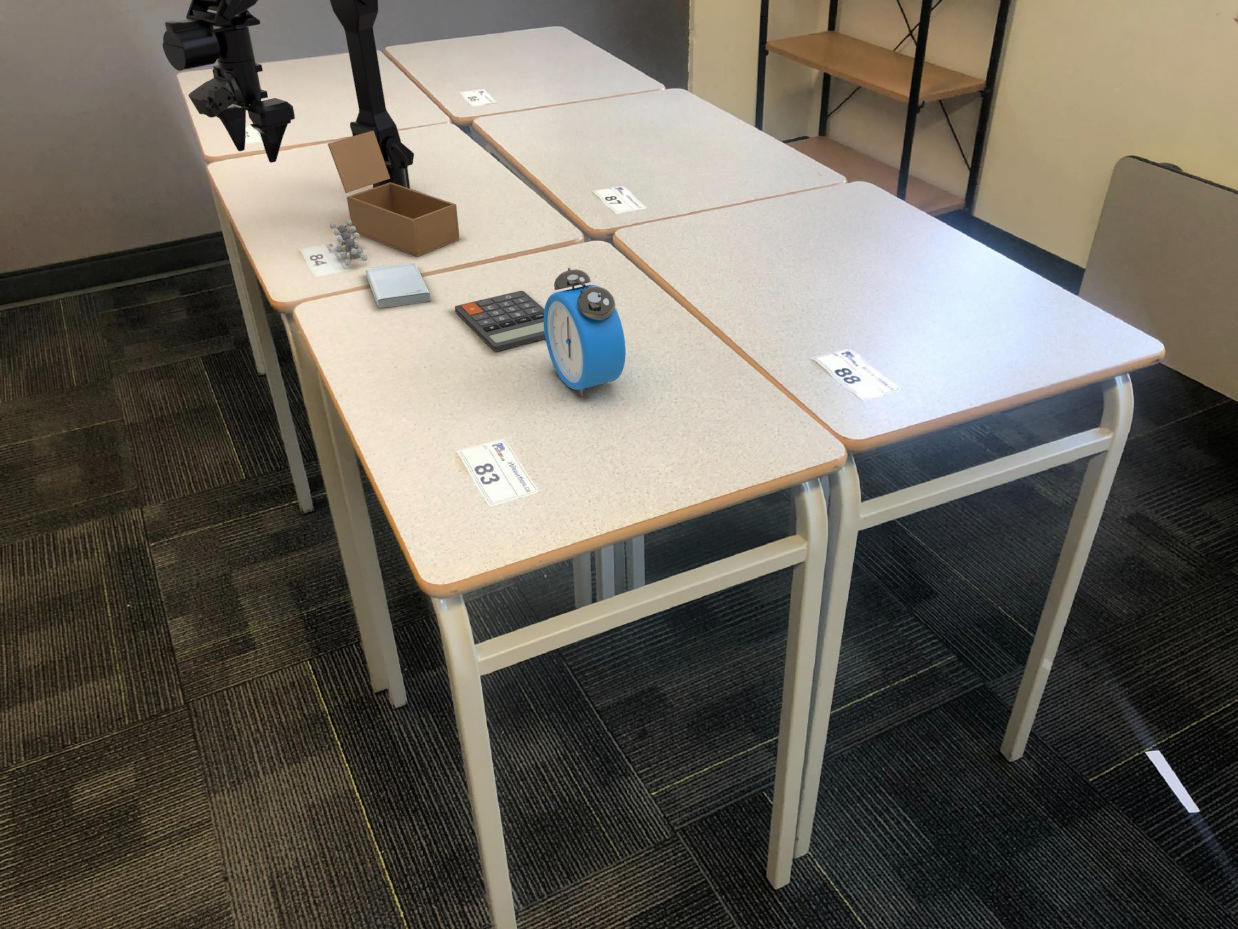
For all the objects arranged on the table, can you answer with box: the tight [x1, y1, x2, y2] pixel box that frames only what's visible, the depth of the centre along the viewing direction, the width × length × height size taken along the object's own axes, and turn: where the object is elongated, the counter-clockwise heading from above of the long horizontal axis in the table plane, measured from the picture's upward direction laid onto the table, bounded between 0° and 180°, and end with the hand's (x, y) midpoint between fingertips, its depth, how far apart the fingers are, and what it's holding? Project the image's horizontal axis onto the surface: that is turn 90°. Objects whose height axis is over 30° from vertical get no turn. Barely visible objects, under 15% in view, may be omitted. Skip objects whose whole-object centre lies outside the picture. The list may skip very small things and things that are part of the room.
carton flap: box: [327, 131, 390, 194], centre depth 169 cm, size 9×10×1 cm
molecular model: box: [329, 219, 368, 267], centre depth 162 cm, size 14×4×5 cm, turn 24°
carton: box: [346, 182, 461, 258], centre depth 169 cm, size 18×10×6 cm, turn 51°
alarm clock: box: [544, 267, 627, 397], centre depth 125 cm, size 13×6×15 cm, turn 29°
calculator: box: [454, 290, 546, 352], centre depth 143 cm, size 12×1×15 cm
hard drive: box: [365, 262, 432, 309], centre depth 152 cm, size 2×8×12 cm
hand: (256, 156), depth 161 cm, fingers open, 9 cm apart
